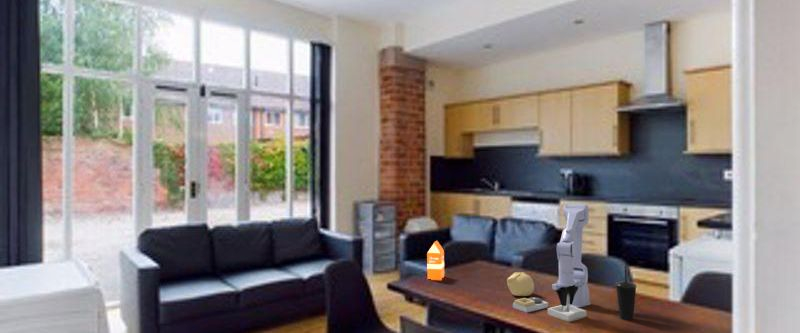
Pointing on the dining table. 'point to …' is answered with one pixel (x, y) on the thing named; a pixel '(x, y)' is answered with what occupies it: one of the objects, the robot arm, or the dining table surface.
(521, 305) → the white flat block
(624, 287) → the drinking cup
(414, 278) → the dining table surface
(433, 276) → the orange juice
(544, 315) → the dining table surface
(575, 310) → the tray
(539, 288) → the dining table surface
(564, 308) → the lock pin
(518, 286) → the sculpture
